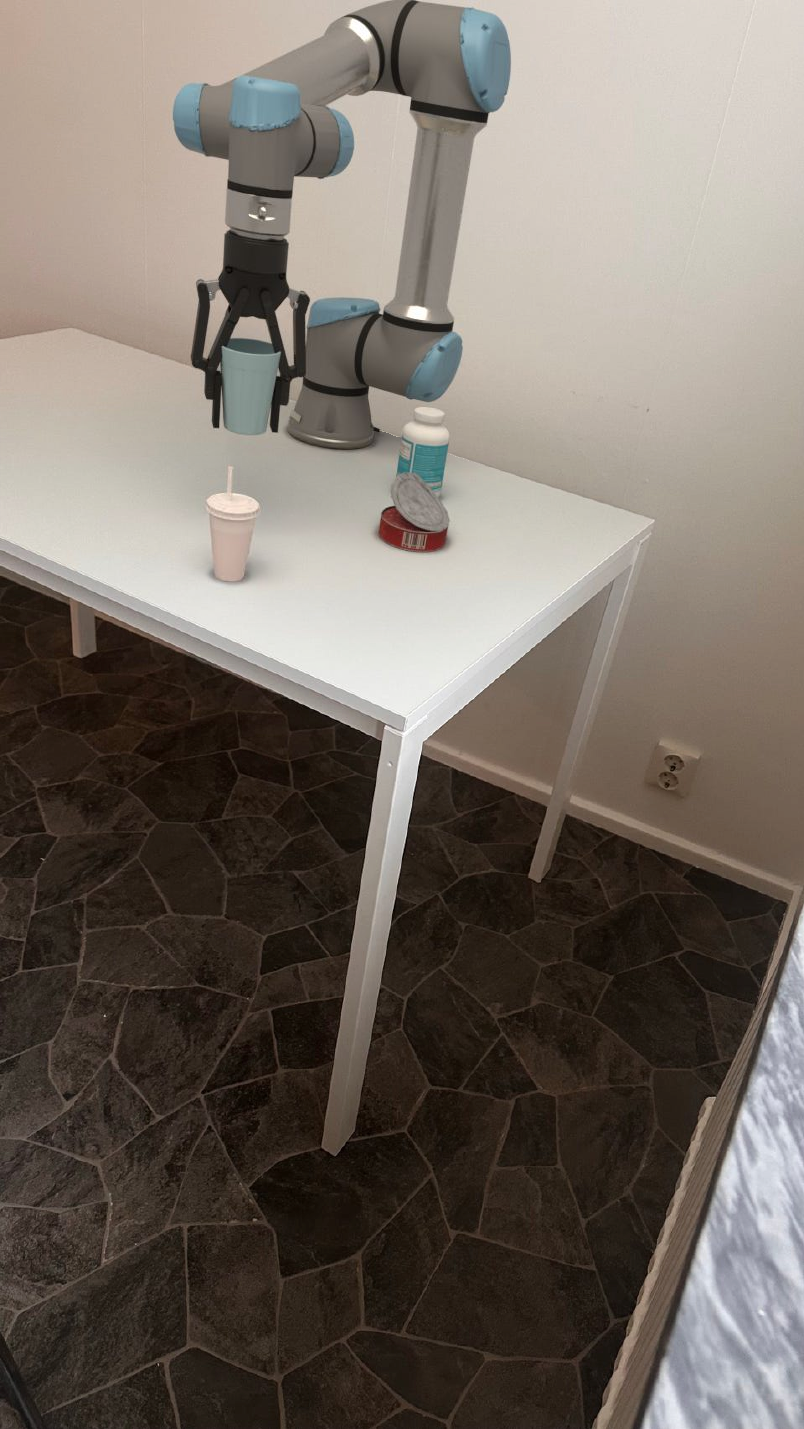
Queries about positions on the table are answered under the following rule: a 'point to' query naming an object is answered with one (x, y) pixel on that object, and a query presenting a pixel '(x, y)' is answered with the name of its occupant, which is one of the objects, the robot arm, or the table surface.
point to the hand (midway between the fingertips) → (244, 426)
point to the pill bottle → (425, 447)
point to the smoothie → (231, 531)
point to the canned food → (414, 516)
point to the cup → (248, 384)
